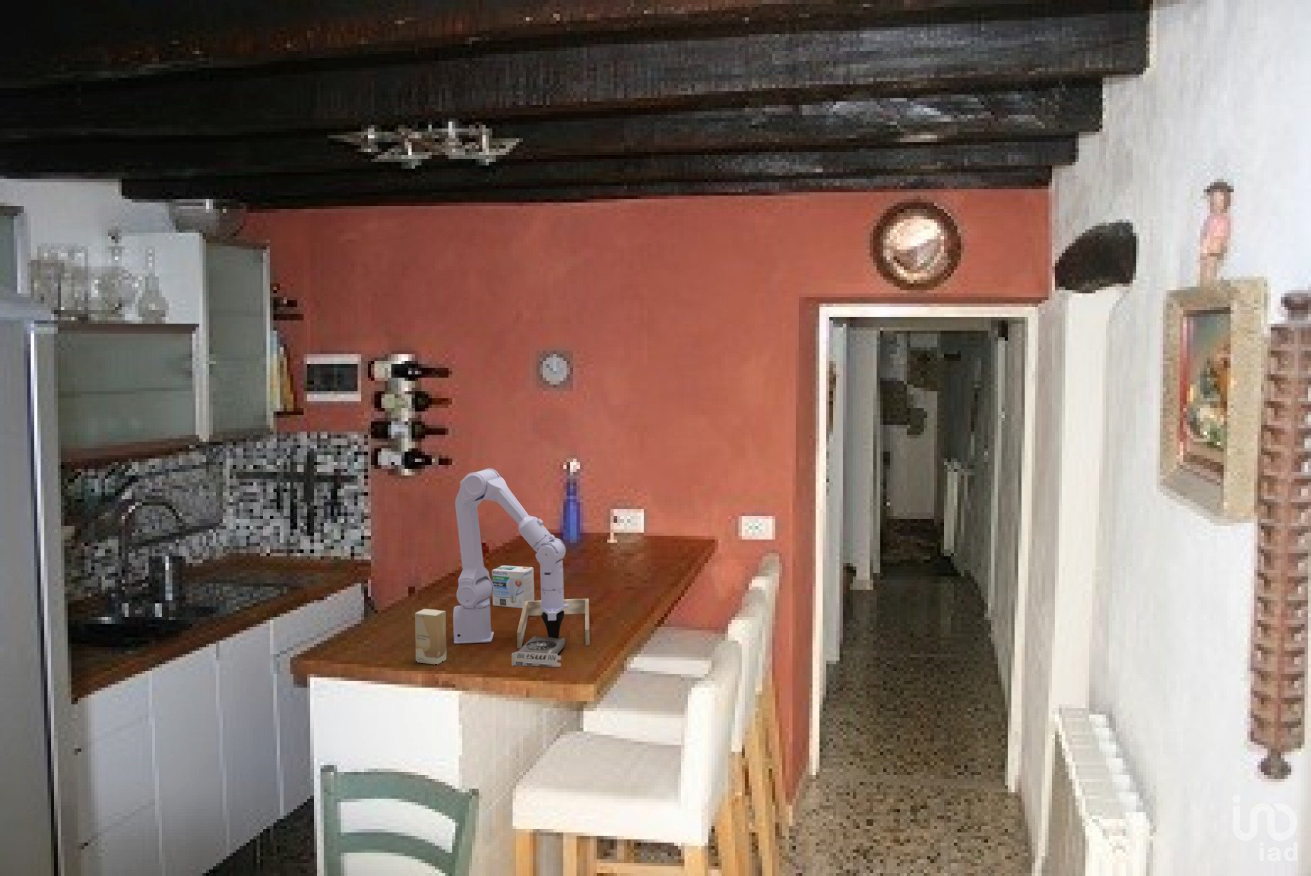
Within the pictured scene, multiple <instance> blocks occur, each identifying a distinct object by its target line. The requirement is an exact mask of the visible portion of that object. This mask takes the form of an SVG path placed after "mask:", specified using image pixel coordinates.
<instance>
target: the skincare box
mask: <svg viewBox="0 0 1311 876" xmlns="http://www.w3.org/2000/svg"><path fill="white" fill-rule="evenodd" d="M446 616H447V613H446V610H438V609H429V608H423V609H421V610H418V611H416V612H415V613H414V618H415V619H414V629H415V630H414V632H415V634H414V636H415V639H414V640H415V662H416V661H417V662H416V663H421V664H422V663H423V664H428V665H429V664H430V665H435V664H437V665H439V664H441V663H442V661H443V662H445V661H447V621H446V620H447V617H446Z"/></svg>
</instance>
